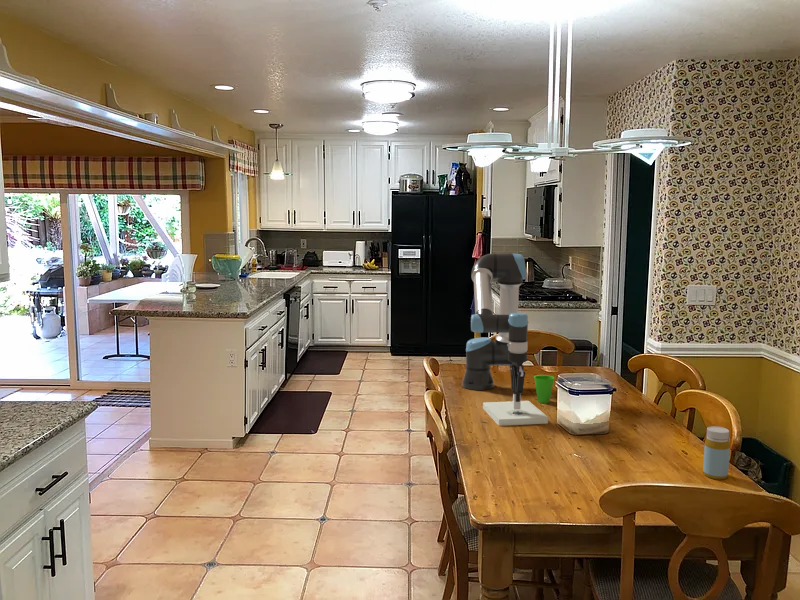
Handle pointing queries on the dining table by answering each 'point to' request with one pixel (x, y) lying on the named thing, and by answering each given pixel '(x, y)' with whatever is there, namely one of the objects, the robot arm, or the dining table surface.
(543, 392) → the cup
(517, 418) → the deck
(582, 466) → the dining table surface
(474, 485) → the dining table surface
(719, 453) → the bottle
